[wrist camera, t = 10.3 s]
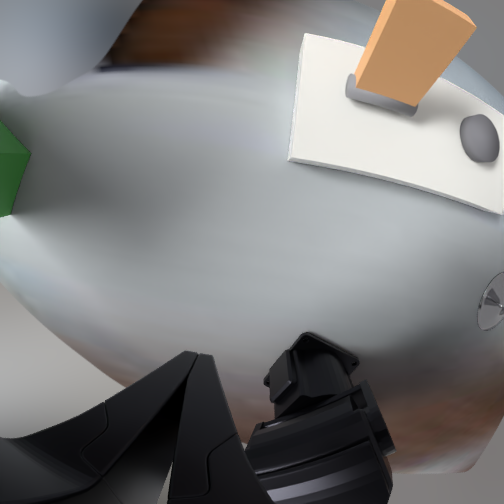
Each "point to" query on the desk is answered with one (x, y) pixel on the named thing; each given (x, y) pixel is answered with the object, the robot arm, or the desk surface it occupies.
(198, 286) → the desk surface
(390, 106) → the paddle lever
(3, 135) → the cereal box
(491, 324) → the wine glass
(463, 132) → the push button
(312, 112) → the switch panel
